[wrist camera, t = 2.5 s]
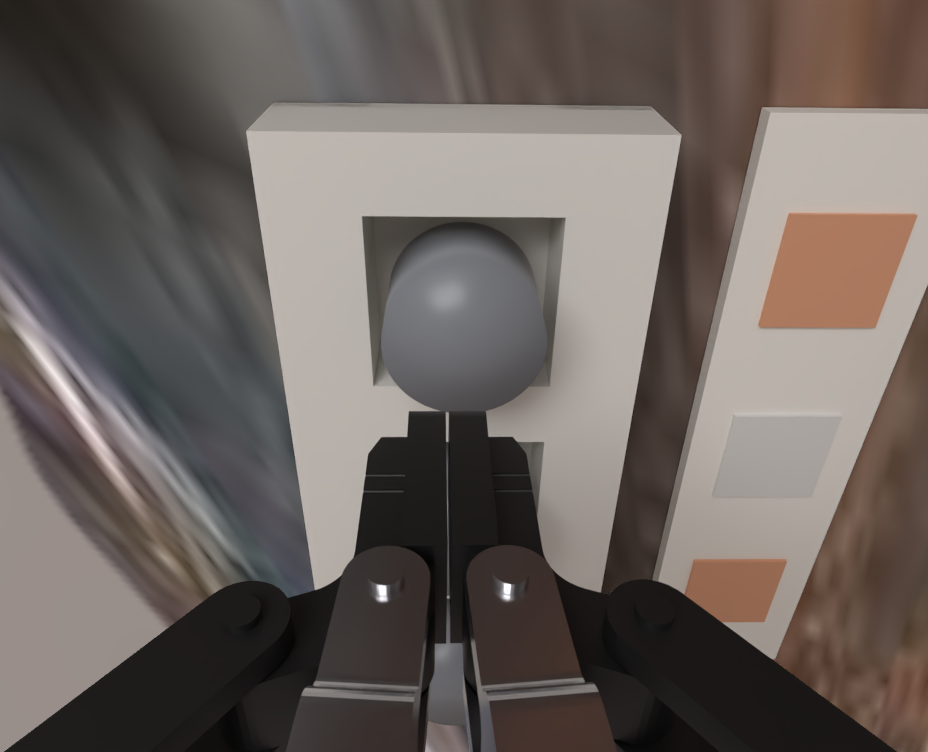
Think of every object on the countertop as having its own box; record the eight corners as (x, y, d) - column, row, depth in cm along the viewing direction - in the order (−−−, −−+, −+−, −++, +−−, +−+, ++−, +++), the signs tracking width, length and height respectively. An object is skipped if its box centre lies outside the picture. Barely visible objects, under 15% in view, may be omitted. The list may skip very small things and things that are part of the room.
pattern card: (982, 109, 19) (1000, 116, 18) (769, 647, 32) (776, 662, 31) (762, 107, 19) (772, 113, 18) (636, 647, 31) (640, 662, 31)
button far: (512, 585, 26) (519, 656, 24) (507, 652, 28) (513, 724, 26) (403, 585, 26) (399, 657, 23) (407, 653, 28) (403, 726, 26)
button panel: (650, 106, 19) (681, 134, 16) (569, 648, 31) (579, 712, 29) (273, 102, 19) (246, 130, 16) (343, 649, 31) (333, 714, 29)
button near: (539, 222, 18) (553, 270, 16) (529, 353, 21) (541, 413, 18) (386, 221, 18) (376, 269, 16) (392, 352, 21) (384, 413, 18)
